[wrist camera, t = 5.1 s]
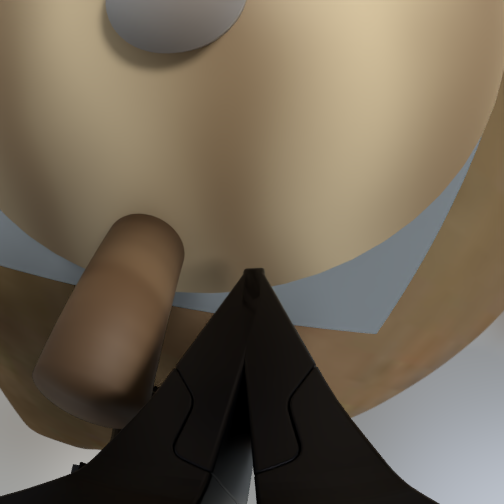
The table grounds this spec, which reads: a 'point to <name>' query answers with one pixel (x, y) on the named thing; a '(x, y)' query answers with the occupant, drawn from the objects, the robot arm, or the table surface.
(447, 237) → the table surface
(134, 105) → the dial
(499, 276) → the table surface
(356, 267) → the plate
